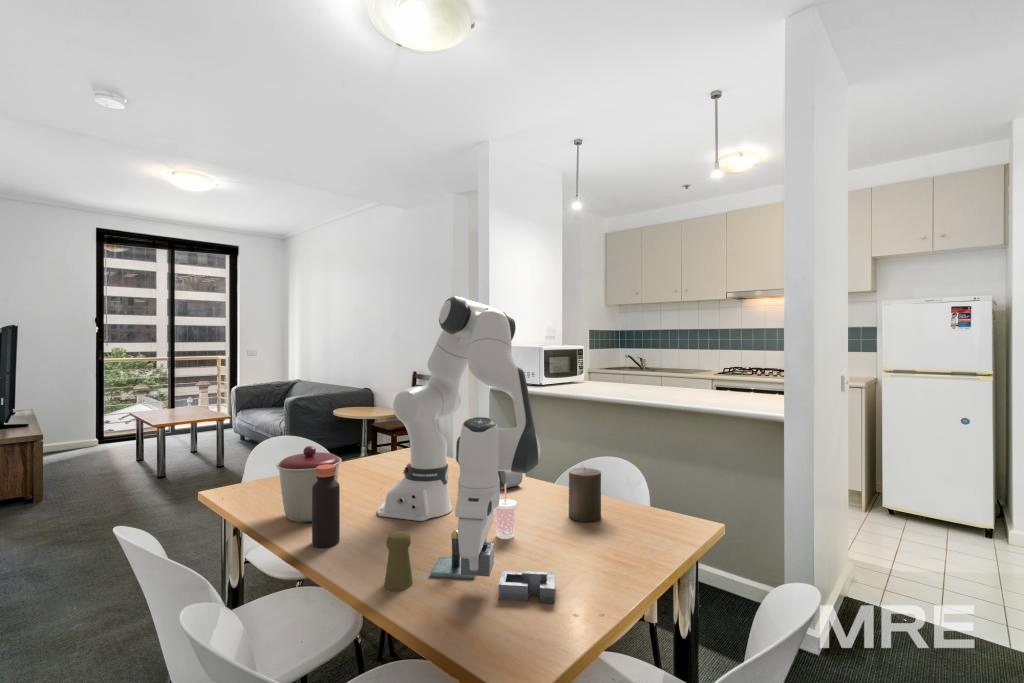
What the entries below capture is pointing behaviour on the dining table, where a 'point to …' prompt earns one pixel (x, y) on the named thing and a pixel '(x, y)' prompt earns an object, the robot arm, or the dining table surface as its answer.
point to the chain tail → (527, 585)
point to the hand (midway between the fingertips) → (477, 560)
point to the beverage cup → (505, 518)
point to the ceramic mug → (509, 479)
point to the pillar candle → (585, 494)
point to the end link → (480, 562)
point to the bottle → (325, 507)
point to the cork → (398, 562)
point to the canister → (302, 481)
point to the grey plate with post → (450, 562)
